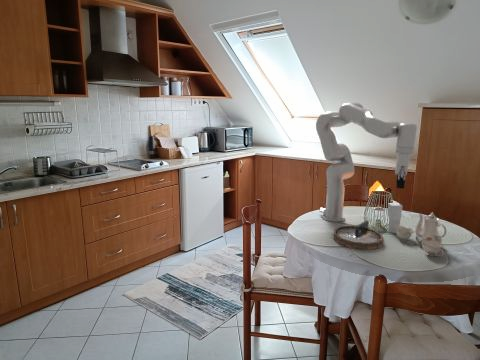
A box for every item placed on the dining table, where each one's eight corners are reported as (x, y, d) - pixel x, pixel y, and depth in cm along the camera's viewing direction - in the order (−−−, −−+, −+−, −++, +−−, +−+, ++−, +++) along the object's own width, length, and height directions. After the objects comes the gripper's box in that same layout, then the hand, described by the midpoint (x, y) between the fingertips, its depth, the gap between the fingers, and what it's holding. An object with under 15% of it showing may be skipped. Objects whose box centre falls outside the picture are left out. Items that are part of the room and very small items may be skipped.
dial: (368, 249, 159) (370, 235, 158) (329, 237, 172) (330, 224, 171) (386, 237, 173) (387, 224, 172) (348, 227, 186) (349, 215, 185)
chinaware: (387, 240, 177) (387, 208, 173) (413, 232, 183) (414, 202, 178) (434, 264, 152) (437, 228, 147) (463, 255, 157) (466, 220, 153)
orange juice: (380, 213, 213) (383, 180, 208) (384, 218, 204) (388, 184, 199) (366, 212, 213) (369, 180, 209) (370, 217, 205) (373, 184, 200)
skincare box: (380, 227, 190) (383, 200, 187) (391, 226, 191) (394, 200, 188) (388, 232, 182) (391, 205, 179) (399, 232, 183) (403, 204, 179)
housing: (324, 239, 172) (324, 233, 172) (346, 227, 189) (347, 221, 188) (370, 254, 157) (371, 247, 156) (391, 240, 173) (391, 233, 172)
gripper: (395, 147, 175) (391, 180, 179) (395, 152, 160) (391, 189, 164) (412, 148, 173) (407, 182, 177) (414, 153, 157) (409, 191, 161)
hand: (399, 185), depth 170 cm, fingers open, 9 cm apart
